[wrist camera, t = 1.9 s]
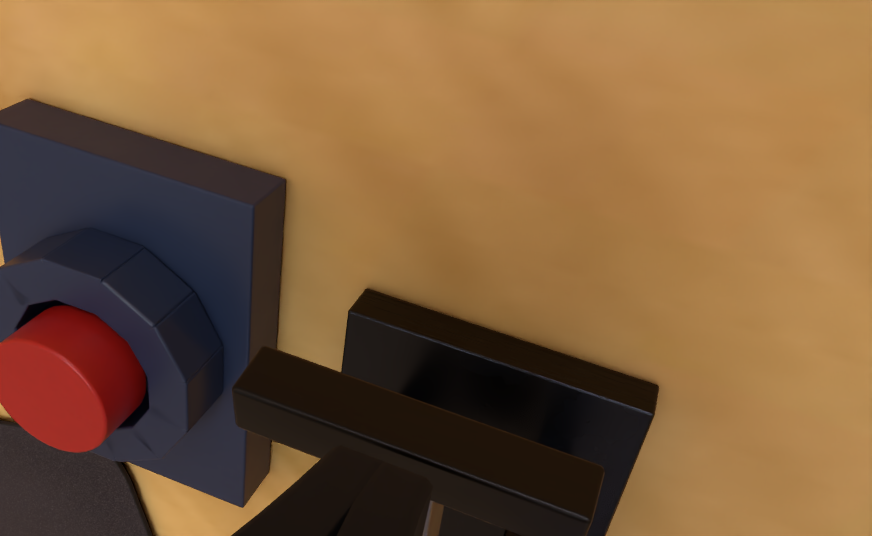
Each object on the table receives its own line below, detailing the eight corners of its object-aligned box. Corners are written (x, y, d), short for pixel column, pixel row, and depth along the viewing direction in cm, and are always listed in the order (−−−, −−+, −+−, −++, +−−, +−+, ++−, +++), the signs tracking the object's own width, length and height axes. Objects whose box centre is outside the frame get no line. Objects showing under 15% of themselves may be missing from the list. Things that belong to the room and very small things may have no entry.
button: (150, 429, 23) (110, 472, 22) (42, 387, 24) (-4, 426, 22) (145, 329, 21) (100, 368, 20) (27, 286, 22) (-24, 322, 20)
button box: (269, 472, 27) (211, 553, 24) (65, 392, 29) (-12, 459, 26) (287, 178, 21) (213, 239, 18) (27, 97, 23) (-78, 142, 20)
